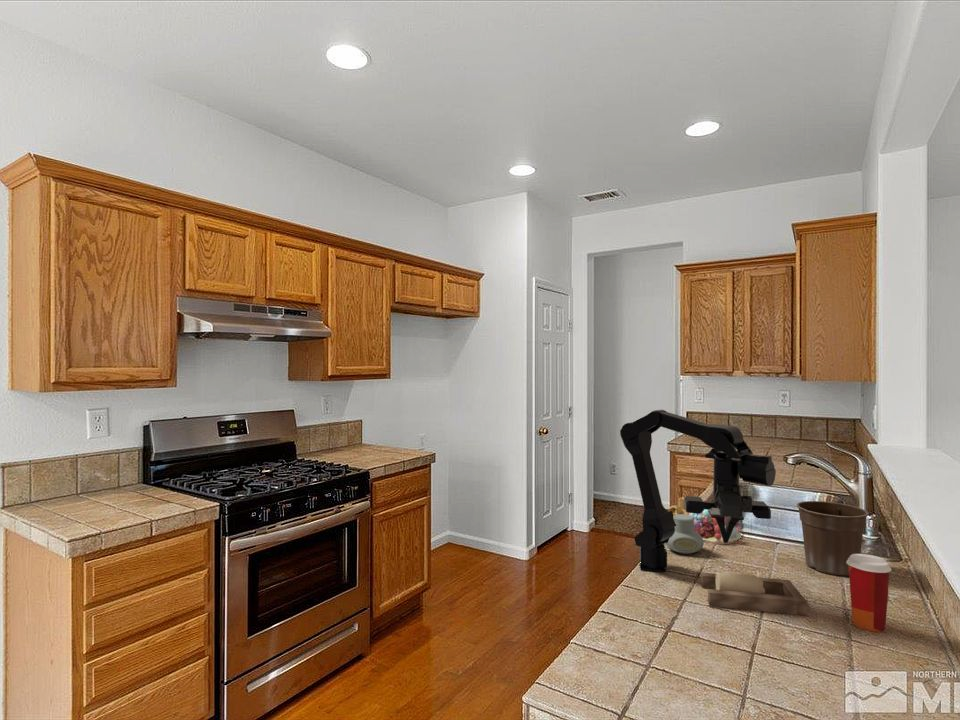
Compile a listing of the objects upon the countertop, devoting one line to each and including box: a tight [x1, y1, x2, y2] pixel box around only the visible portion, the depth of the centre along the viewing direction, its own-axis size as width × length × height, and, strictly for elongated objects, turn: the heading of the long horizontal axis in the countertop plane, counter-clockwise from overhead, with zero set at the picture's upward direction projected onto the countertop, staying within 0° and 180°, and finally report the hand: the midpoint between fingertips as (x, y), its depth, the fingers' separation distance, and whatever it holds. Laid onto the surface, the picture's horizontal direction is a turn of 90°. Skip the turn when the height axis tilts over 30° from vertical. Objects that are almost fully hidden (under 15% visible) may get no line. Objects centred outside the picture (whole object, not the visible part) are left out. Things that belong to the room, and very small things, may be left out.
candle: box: [715, 571, 765, 594], centre depth 128 cm, size 6×6×10 cm
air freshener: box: [665, 514, 705, 555], centre depth 160 cm, size 11×8×10 cm
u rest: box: [700, 572, 808, 616], centre depth 127 cm, size 20×12×3 cm, turn 76°
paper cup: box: [846, 553, 892, 633], centre depth 115 cm, size 8×8×14 cm
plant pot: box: [796, 500, 869, 576], centre depth 146 cm, size 16×16×16 cm
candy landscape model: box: [667, 496, 743, 545], centre depth 179 cm, size 25×24×9 cm
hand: (725, 542), depth 132 cm, fingers closed
